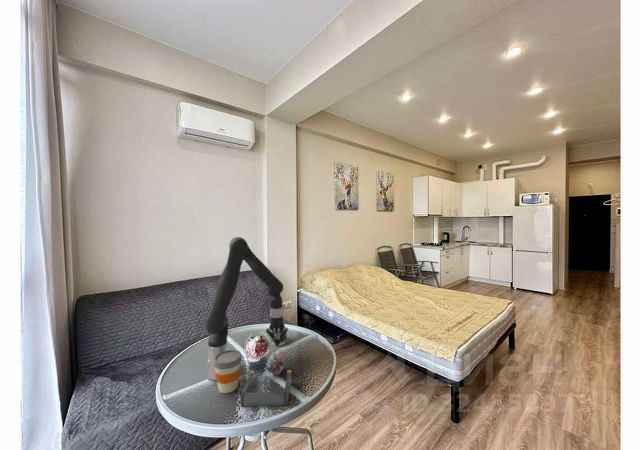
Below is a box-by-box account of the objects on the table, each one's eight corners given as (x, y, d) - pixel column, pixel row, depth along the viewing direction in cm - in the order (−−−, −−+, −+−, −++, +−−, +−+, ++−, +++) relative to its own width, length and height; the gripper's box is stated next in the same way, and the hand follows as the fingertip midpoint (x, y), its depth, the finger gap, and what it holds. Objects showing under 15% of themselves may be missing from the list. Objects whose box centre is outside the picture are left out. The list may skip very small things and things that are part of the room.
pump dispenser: (281, 339, 173) (280, 316, 173) (290, 344, 165) (289, 321, 165) (268, 344, 166) (267, 321, 166) (276, 350, 158) (276, 325, 158)
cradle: (240, 406, 110) (240, 393, 110) (250, 382, 127) (250, 370, 127) (287, 405, 110) (287, 392, 110) (291, 381, 127) (291, 370, 127)
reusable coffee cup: (214, 398, 115) (214, 366, 115) (214, 382, 127) (213, 353, 127) (243, 391, 120) (242, 359, 120) (240, 376, 132) (239, 347, 132)
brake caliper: (281, 380, 128) (281, 356, 128) (261, 378, 130) (260, 354, 130) (288, 367, 139) (288, 345, 139) (269, 365, 141) (269, 344, 141)
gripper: (263, 317, 142) (264, 348, 143) (287, 317, 142) (288, 347, 143) (266, 312, 150) (267, 342, 150) (289, 312, 150) (289, 341, 150)
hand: (277, 344), depth 146 cm, fingers closed
